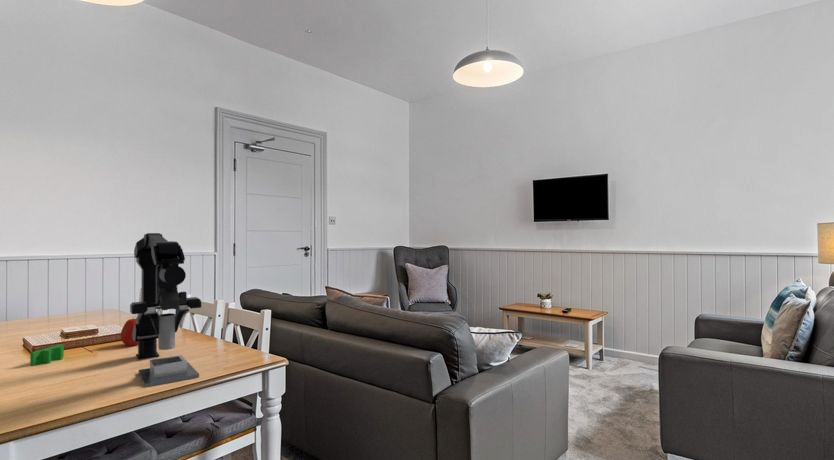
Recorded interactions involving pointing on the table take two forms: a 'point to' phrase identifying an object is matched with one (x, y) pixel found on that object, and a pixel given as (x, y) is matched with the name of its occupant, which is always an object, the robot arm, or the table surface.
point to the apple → (128, 333)
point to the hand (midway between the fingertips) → (166, 333)
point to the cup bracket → (167, 371)
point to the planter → (166, 331)
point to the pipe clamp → (47, 355)
